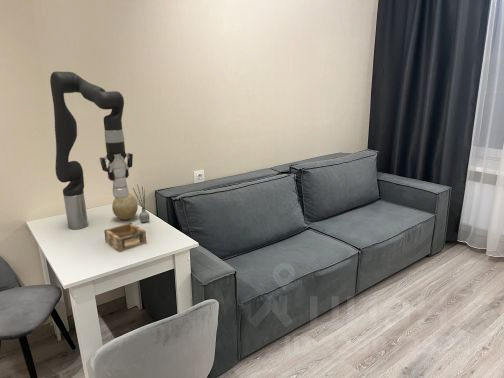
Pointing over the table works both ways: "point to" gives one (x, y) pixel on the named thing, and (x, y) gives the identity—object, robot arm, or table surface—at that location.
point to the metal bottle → (119, 178)
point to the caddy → (125, 237)
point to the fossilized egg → (125, 207)
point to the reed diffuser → (143, 209)
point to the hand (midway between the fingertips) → (118, 178)
